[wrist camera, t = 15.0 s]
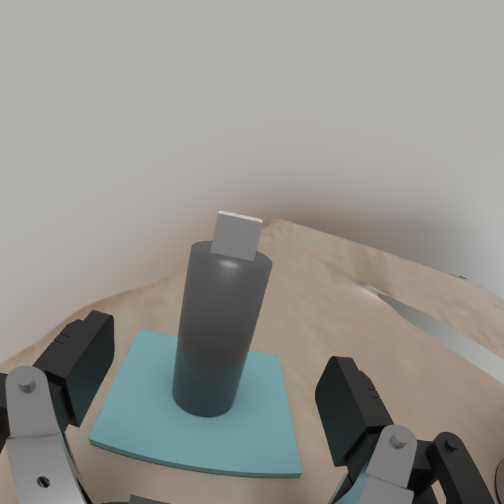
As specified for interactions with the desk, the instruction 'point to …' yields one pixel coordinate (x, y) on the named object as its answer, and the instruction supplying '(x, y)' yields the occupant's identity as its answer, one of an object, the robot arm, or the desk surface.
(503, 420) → the desk surface
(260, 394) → the teal mat
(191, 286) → the grey capped bottle
